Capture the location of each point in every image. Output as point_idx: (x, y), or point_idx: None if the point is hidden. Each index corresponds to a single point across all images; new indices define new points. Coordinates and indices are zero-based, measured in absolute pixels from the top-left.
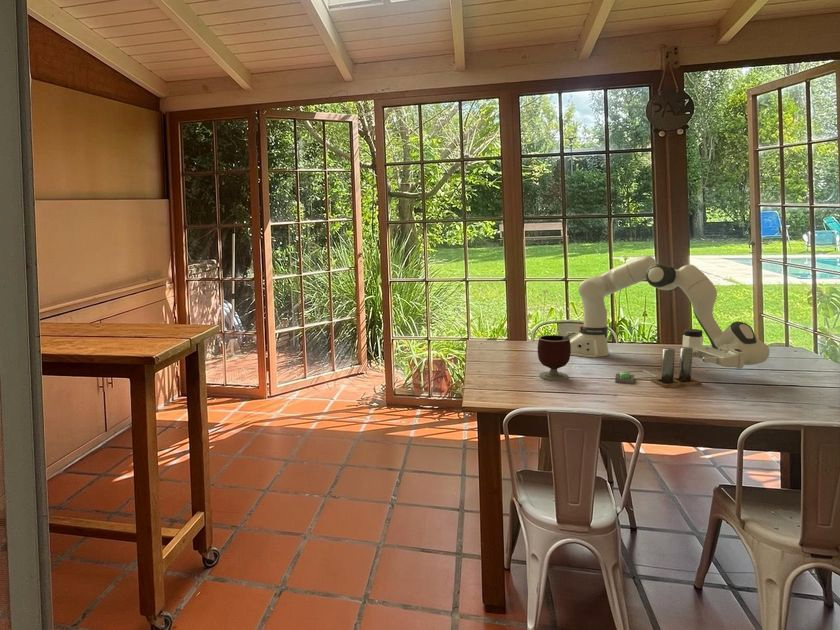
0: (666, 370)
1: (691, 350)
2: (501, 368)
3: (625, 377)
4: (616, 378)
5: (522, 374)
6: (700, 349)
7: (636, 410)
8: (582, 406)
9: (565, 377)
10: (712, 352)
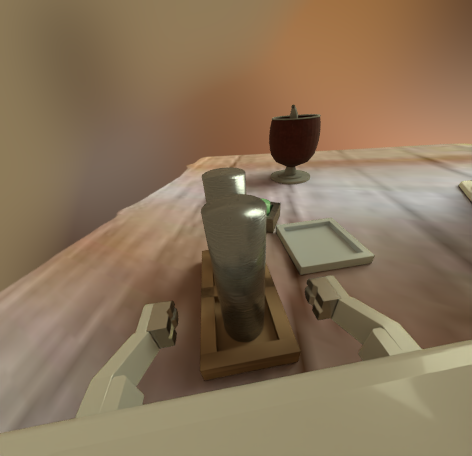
0: None
1: (204, 222)
2: (315, 158)
3: None
4: None
5: None
6: (415, 368)
7: (130, 213)
8: (171, 186)
9: (280, 180)
10: (245, 453)
